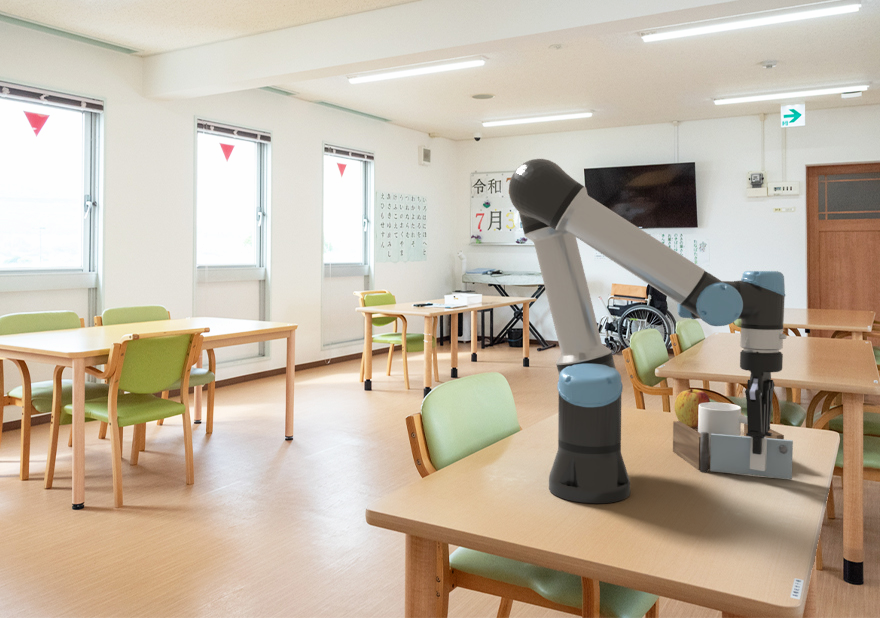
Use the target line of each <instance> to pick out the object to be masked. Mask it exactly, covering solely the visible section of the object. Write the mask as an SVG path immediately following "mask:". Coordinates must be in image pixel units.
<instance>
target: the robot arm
mask: <svg viewBox="0 0 880 618" xmlns="http://www.w3.org/2000/svg"><path fill="white" fill-rule="evenodd" d="M508 194H509V199H510V202H511V203H512V206H513V207H514V208H515V210H516V211H518V214H519V219H520V222H521V226H522V231H523V234H524V237H525V238H527V239H528V240H530V241H531V242H533V245H534V248H535V249H534V250H535V253H536V257H537V260H538V261H537V262H538V265H539V268H540V273H541V277H542V281H543V285H544V289H545V290H544V291H545V293H546V297H547V301H548V305H549V309H550V314H551V318H552V321H553V326H554V330H555V333H556V338H557V342H558V347H559V350H560V355H559V357H558V358H557V360H556V362H555V364H556V368H557V372H558V381H557V391H558V411H557V412H558V417H557V418H558V428H557V429H558V430H557V431H558V432H557V433H558V434H557V435H558V436H557V437H558V438H557V439H558V440H557V441H558V443H557V444H558V445H557V446H558V448H557V453H556V455H555V458H554V461H553V464H552V467H551V470H550V472H549V476H548V490H549V491H550V493H551V494H553V495H555V496H556V497H558V498H561V499H564V500H567V501H571V502H577V503H584V504H608V503H616V502H620V501H623V500H625V499H627V498H628V497H629V496H630V494H631V481H630V477H629V473H628V471H627V467H626V464H625V460H624V458H623V455H622V394H623V393H622V392H623V389H624V388H623V382H622V376H621V373H620V372H619V371H618V370H617V368H616V364H615V360H614V355H613V352H612V350H611V349H610V348H609V347H607V346H605V345H604V344H603V343H602V340H601V339H602V338H601V334H600V331H599V326H598V323H597V319H596V314H595V310H594V305H593V302H592V298H591V293H590V290H589V286H588V282H587V281H588V280H587V278H586V273H585V269H584V265H583V261H582V257H581V254H580V249H579V245H578V241H577V239H578V240H579V241H581V242H582V243H583V242H584V243H585V244H586V245H588V246H589V247H591V248H592V249H593V250H595V251H597V252H598V253H600V254H601V255H603V256H605V257H606V258H607V259H609V260H610V261H612V262H614V263H615V264H617V265H618V266H620V267H621V268H623V269H625V270H626V271H628V273H629V272H630V273H631V274H632V275H634V276H636V277H637V278H639V279H640V280H641V281H643V282H644V283H646V284H647V285H649V286H651V287H652V288H654V289H655V290H657V291H659V292H660V293H662V294H663V295H665V296H666V297H668V298H669V299H671V300H672V301H674V302H675V303H676V307H677V315H678V316H679V317H680V318H682V319H691V320H696V319H698V320H700V319H701V320H702V321H703V322H704V323H706V324H708V325H709V326H711V327H725V326H728V325H731V324H733V323H734V322H736V321H737V320H740V321H741V325H740V342H739V346H740V348H742V350H741V351H740V353H739V354H740V356H739V358H740V359H739V368H740V369H741V370H742V371H743V370H744V371H748V372H750V377H749V379H747V383H746V385H747V386H746V387H747V388H745V392H744V393H745V394H744V395H745V398H746V399H745V400H746V417H747V424H748V432H747V433H746V436H750V437H751V442H750V469H754V470H760V471H765V470H766V455H767V437H765V436H770V437H771V435H772V433H768V431H769V430H770V429H771V421H772V420H771V418H772V407H773V405H772V404H773V398H774V397H773V396H774V395H773V394H774V388H775V386H776V385H775V382H774V379H772V373H779V372H781V371H782V370H783V358H784V357H783V356H784V355H783V352H781V351H780V350H782V349H783V348H784V345H783V344H784V340H785V339H787V335H786V334H785V333H784V319H785V318H784V317H785V299H786V298H785V297H786V292H785V291H786V290H785V289H786V287H785V276H784V274H783V273H782V272H780V271H778V270H776V271H775V270H769V271H768V270H765V271H764V270H746V271H744V272H743V273H742V277H741V280H734V281H733V280H732V281H729V280H721V279H719V278H717V277H716V276H715V275H713V274H711V273H710V272H708V271H706V270H705V269H704V268H702V267H701V266H699V265H697V264H696V263H694V262H693V261H691V260H689V259H688V258H686V257H685V256H684V255H682V254H680V253H679V252H678V251H676V250H674V249H673V248H671V247H669V246H668V245H666V244H664V243H663V242H662V241H660V240H658V239H657V238H655V237H653V236H652V235H651V234H649V233H647V232H646V231H644V230H643V229H641V228H640V227H638V226H637V225H635V224H633V223H631V221H629V220H627V219H625V218H624V217H622V216H621V215H619V214H618V213H617V212H615V211H613V210H611V209H610V208H608V207H607V206H606V205H603V204H602V203H600V202H599V201H598V200H596V199H594V198H593V197H591V196H590V195H588V190H587V187H586V186H584V185H583V184H581V183H580V182H578V181H577V180H575V179H574V178H572V176H570V174H568V173H567V172H566V171H565V170H563V169H562V168H561V166H559V165H558V164H557V163H556V162H554V161H551V160H549V159H545V158H536V159H534V158H533V159H530V160H527V161H525V162H523V163H521V165H519V166H518V167H517V168H516V169H515V170H514V172H513V173H512V176H511V178H510V180H509V185H508Z"/></svg>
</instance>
